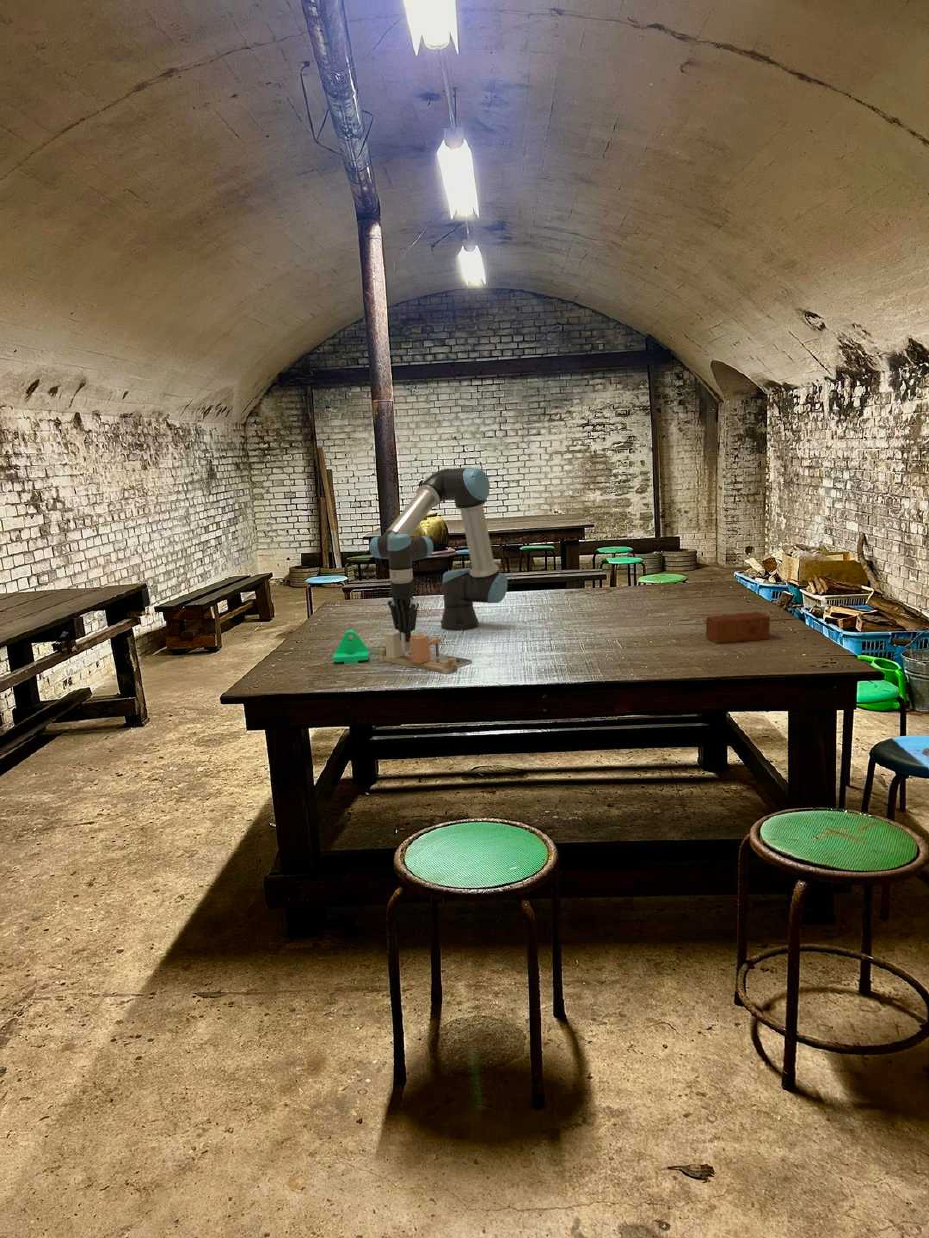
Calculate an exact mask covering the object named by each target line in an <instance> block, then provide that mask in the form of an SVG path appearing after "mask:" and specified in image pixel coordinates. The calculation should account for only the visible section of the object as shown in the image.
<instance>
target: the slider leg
mask: <svg viewBox="0 0 929 1238" xmlns="http://www.w3.org/2000/svg"><path fill="white" fill-rule="evenodd" d="M441 639H442V638H438V637H436V638H433V639H430V636H429V635H424V634H419V635H416V636H414V637H410V653H411V662H414V663H419V664H420V663H423V662H426V661H429V660H430V653H431V650H430V649H431V648H430V646H433V645H434V646H435V654H436V657H439V654H440V652H439V651H440V650H439V649H440V648H439V644H441V643H442V640H441Z"/></svg>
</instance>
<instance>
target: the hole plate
mask: <svg viewBox="0 0 929 1238" xmlns="http://www.w3.org/2000/svg"><path fill="white" fill-rule="evenodd" d="M404 657H409V658H411V653H410V651H407V652H405V656H404ZM451 658H456V662H457V669H458V668H462V667H464V666H467V665H471V664H473V660H472V659H467V658H462V657H456V656H450V655H446V654H440V653H439V657H436V652H430V660H429V661H430V662H435V663H440V664H442V661H445V660H448V659H451Z"/></svg>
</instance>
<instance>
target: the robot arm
mask: <svg viewBox="0 0 929 1238" xmlns="http://www.w3.org/2000/svg"><path fill="white" fill-rule="evenodd" d="M490 490H491V485H490V480H489V477H488V475H487V473H486V472H485V470H483V469H481V468H479V467H469V466H468V467H459V468H457V467H454V468H444V469H443V468H442V469H440V470H438V471H436V472H434V473H432V474H431V475H430V476H429V477H427V478H426V479H424V481H423V482H422V483H421V484H420V485H419V486H418V488H417V489H416V493H415V496H414V497H413V498H412V499H411V500H410V502H409V503H408V504H407V505H406V506H405V508H404V509H403V510H402V511H401V512H400V514H399V515H398V516H397V518H396V519H395V520H394V521H393V523H391V525H390V527H389V528H388V529H387V530H386V531H385V532H384V534H382V536H379V535H377V536H375V537H372V538H371V540H370V542H369V547H368V548H369V549H368V550H369V553H370V555H371V556H372V557H373V558H375V559H382V560H388V565H389V567H388V568H389V569H388V570H389V581H391V583H390V593H391V594H392V599H391V600H389V601H387V605H388V607H389V610H390V613H391V617H392V622H393V623H392V624H393V626H394V629H395V631H399V632H400V640H401V644H402V652H407V651H410V637H411V634H412V633H411V632H413V631H416V626H417V618H418V617H417V615H418V609H419V608H420V603H419V602H415V601H414V597H413V593H414V592H415V587H414V582H413V580H414V575H413V574H414V573H413V562H414V561H418V560H424V559H426V558H428V557H430V556H431V555H432V554H433V551H434V543H433V541H432V539H431V538H430V537H428V536H426V535H418V536H416V537H415V536H412V537H411V535H412V534H413V533H414V531H416V529H417V528H418V526H419V525H420V524H421V523H422V521H423V520H424V519H425V517H426V516H427V515H428V514H429V512H430V511H431V510H432V508H436V507H437V506H438V505H439V504H440V503H442V502H444V501H454V505H455V508H456V509H457V510H459V511H460V514H461V519H462V523H463V529H464V533H465V534H464V535H465V538H466V543H467V549H468V553H469V559H470V563H471V568H467V567H465V568H459V569H454V570H453V569H452V570H450V571H446V572H444V573H443V575H442V590H443V591H442V592H443V603H444V605H443V606H444V609H443V612H442V616H441V617H442V618H441V620H440V624H441V625H440V627H441V629H444V630H449V631H464V630H465V631H466V630H470V629H475V628H477V627H478V626H479V619H478V617H477V615H476V612H475V608H474V603H483V604H484V603H485V604H486V603H487V604H499V603H501V602H502V601H503V600H504V598H505V596H506V594H507V591H508V582H509V581H508V578H507V575H506V574H505V573H502V572H500V568H499V565H497V564H495V563H494V556H493V553H492V552H493V551H492V550H493V549H492V547H491V542H490V541H491V540H490V535H489V531H488V525H487V519H486V514H485V509H484V505H485V504H486V502H487V499H488V497H489V495H490V492H491V491H490Z"/></svg>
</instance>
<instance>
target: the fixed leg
mask: <svg viewBox="0 0 929 1238" xmlns="http://www.w3.org/2000/svg"><path fill="white" fill-rule="evenodd" d="M414 636H417V635H416V634H414V633H411V637H414ZM384 638H385V639H384V640H385V648H386V656H387V657H389V658H394V659H395V658H398V657H402V656H405V652H402V644H401V640H400V632H399V630H394V631H389V632H385V633H384Z"/></svg>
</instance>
